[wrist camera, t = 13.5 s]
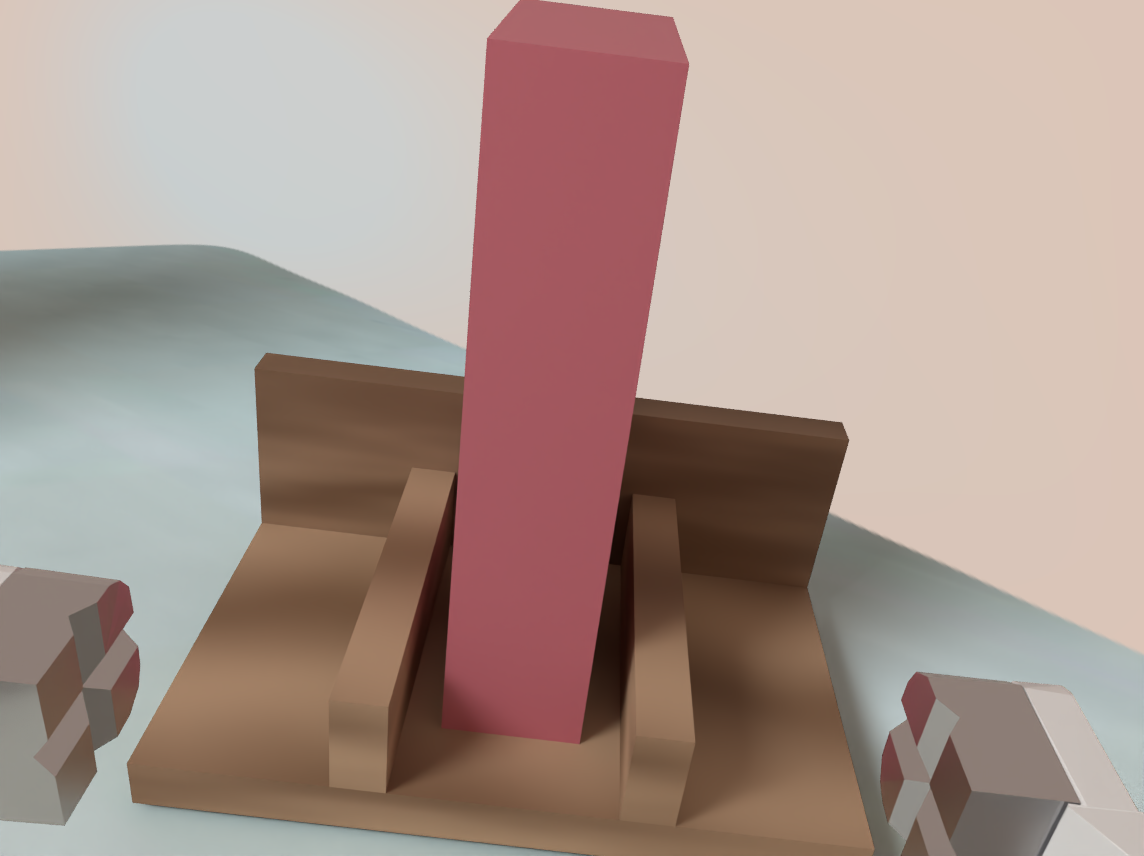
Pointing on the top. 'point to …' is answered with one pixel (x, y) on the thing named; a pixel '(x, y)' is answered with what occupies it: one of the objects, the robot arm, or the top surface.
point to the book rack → (420, 626)
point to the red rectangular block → (554, 350)
